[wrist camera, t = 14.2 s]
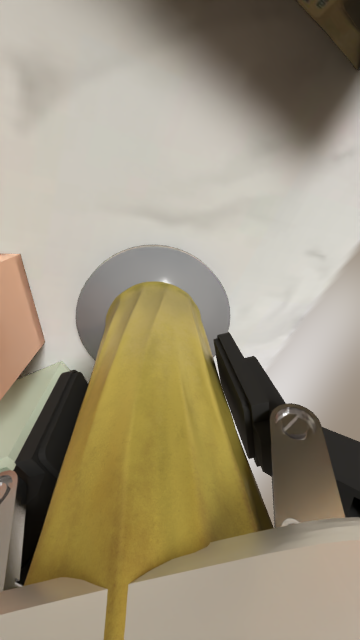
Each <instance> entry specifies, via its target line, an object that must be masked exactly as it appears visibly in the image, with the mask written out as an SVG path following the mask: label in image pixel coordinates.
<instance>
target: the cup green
mask: <svg viewBox="0 0 360 640" xmlns="http://www.w3.org/2000/svg"><path fill="white" fill-rule="evenodd" d="M68 371H70V370H69V369H68V368H67V367H66V365H65V364H64V363H63V362H62V361H61V362H58V363H56V364H53V365H51V366H49V367H46V368H44V369H42V370H39V371H37V372H34V373H32V374H30V375H27V376H25V377H22V378H20V379H18V380H16V381H15V382H14V383H13V385H12V386H11V387H10V388H9V390H8V391H7V392H6V394H5V395H4V396H3V398H2V399H1V400H0V473H1V472H3V471H8V470H12V471H13V470H14V468H15V466H16V464H15V463H14V462H15V460H16V459H17V457H18V455H19V453H20V451H21V449H22V447H23V445H24V443H25V441H26V439H27V438H28V436H29V434H30V432H31V430H32V428H33V426H34V424H35V422H36V420H37V418H38V417H39V415H40V413H41V411H42V409H43V407H44V405H45V403H46V401H47V399H48V397H49V396H50V394H51V392H52V390H53V388H54V386H55V384H56V382H57V380H58V378H59V377H60V375H61V373H64V372H68Z"/></svg>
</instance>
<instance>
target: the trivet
mask: <svg viewBox="0 0 360 640" xmlns="http://www.w3.org/2000/svg"><path fill="white" fill-rule="evenodd" d="M152 281H157V282H165V283H169V284H172V285H175V286H177V287H178V288H180V289H182V290H183V291H185V292H186V293H188V294H189V295H190V297H191V298H192V299H193V301H194V302H195V304H196V305H197V307H198V309H199V311H200V315H201V321H202V324H203V327H204V330H205V333H206V336H207V339H208V342H209V346H210V349H211V353H212V356H213V357H214V356H215V355H216V352H215V347H214V341H213V339H216V338H217V335H219V334H224V333H228V329H229V325H230V306H229V301H228V298H227V295H226V292H225V290H224V288H223V286H222V284H221V282H220V281H219V280H218V278H217V277H216V276H215V274H214V273H213V272H212V271H211V270H210V269H209V268H208V267H207V266H206V265H205V264H204V263H203V262H202V261H201V260H199V259H198V258H197V257H195V256H193V255H191V254H189V253H188V252H185V251H183V250H180V249H178V248H174V247H169V246H163V245H143V246H137V247H132V248H129V249H126V250H123V251H121V252H119V253H117V254H115V255H113V256H112V257H110V258H109V259H107V260H106V261H104V262H103V263H102V264H101V265H100V266H99V267H98V268H97V269H96V270H95V271H94V273H93V274H92V275H91V276H90V278H89V279H88V280H87V281H86V283H85V285H84V287H83V288H82V290H81V293H80V296H79V298H78V302H77V307H76V324H77V329H78V333H79V336H80V339H81V341H82V343H83V345H84V347H85V348H86V350H87V351H88V353H89V354H90V355H91V356H92V358H93V359H94V360H95V361H96V357H97V353H98V350H99V346H100V343H101V340H102V337H103V334H104V330H105V321H106V316H107V313H108V310H109V308H110V306H111V304H112V302H113V301H114V300H115V298H116V297H117V296H118V295H119V294H121V293H122V292H124V291H125V290H127V289H128V288H130V287H132V286H134V285H136V284H139V283H143V282H152Z"/></svg>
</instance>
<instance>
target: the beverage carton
mask: <svg viewBox="0 0 360 640" xmlns="http://www.w3.org/2000/svg"><path fill="white" fill-rule="evenodd" d="M297 2H298V3H299V4H300V5H301V6H302V7H303V8H304V10H305V11H306V12H307V13H308V14H309V15H310V16H311V17H312V18H313V19H314V20H315V21H316V22H317V23H318V24H319V25H320V26H321V28H322V29H323V30H324V31H325V32H326V33H327V34H328V35H329V37H330V38H331V39H332V40H333V42H334V43H335V44H336V45H337V46H338V47H339V49H340V50H341V51H342V52H343V53H344V54H345V56H346V57H347V58H348V59H349V61H350V62H351V63H352V65H353V66H354V67H355V69H356V70H360V0H297Z"/></svg>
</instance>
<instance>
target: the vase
mask: <svg viewBox="0 0 360 640" xmlns="http://www.w3.org/2000/svg"><path fill="white" fill-rule="evenodd" d="M268 529H273V525H272V522H271V520H270V517H269V515H268V512H267V509H266V507H265V505H264V502H263V499H262V497H261V494H260V491H259V489H258V486H257V484H256V481H255V478H254V476H253V473H252V471H251V468H250V466H249V463H248V460H247V458H246V455H245V453H244V450H243V448H242V445H241V442H240V440H239V437H238V434H237V431H236V429H235V425H234V422H233V418H232V415H231V412H230V409H229V407H228V404H227V401H226V398H225V395H224V392H223V389H222V386H221V383H220V379H219V376H218V373H217V370H216V366H215V363H214V360H213V356H212V353H211V349H210V346H209V342H208V339H207V336H206V333H205V330H204V327H203V324H202V321H201V315H200V311H199V309H198V307H197V305H196V304H195V302H194V301H193V299H192V298H191V297H190V295H189V294H188V293H186V292H185V291H183V290H182V289H180V288H178V287H177V286H175V285H172V284H169V283H165V282H157V281H152V282H143V283H139V284H136V285H134V286H132V287H130V288H128V289H127V290H125V291H124V292H122V293H121V294H119V295H118V296H117V297H116V298H115V300H114V301H113V302H112V304H111V306H110V308H109V310H108V313H107V316H106V321H105V330H104V334H103V337H102V340H101V343H100V346H99V350H98V353H97V357H96V361H95V365H94V368H93V371H92V374H91V378H90V381H89V384H88V387H87V390H86V393H85V396H84V399H83V402H82V405H81V408H80V411H79V414H78V417H77V420H76V423H75V427H74V430H73V433H72V436H71V440H70V443H69V446H68V449H67V452H66V454H65V457H64V460H63V463H62V466H61V470H60V473H59V476H58V479H57V482H56V485H55V488H54V492H53V495H52V498H51V501H50V505H49V508H48V511H47V515H46V518H45V521H44V524H43V528H42V531H41V534H40V537H39V540H38V543H37V546H36V549H35V553H34V556H33V559H32V562H31V565H30V568H29V571H28V574H27V577H26V580H25V583H24V586H26V585H30V584H35V583H39V582H43V581H47V580H51V579H55V578H60V577H68V578H75V579H81V580H84V581H87V582H89V583H92V584H94V585H96V586H99V587H103V588H106V589H108V593H107V606H106V618H105V629H104V640H124V632H125V621H126V608H127V594H128V584H130V583H131V582H133V581H135V580H136V579H138V578H139V577H141V576H142V575H144V574H145V573H147V572H148V571H150V570H152V569H154V568H156V567H158V566H160V565H162V564H164V563H166V562H168V561H170V560H172V559H174V558H178V557H181V556H185V555H188V554H192V553H195V552H197V551H199V550H201V549H203V548H206V547H208V545H209V544H210V542H214V541H218V540H223V539H227V538H232V537H236V536H240V535H245V534H249V533H254V532H259V531H264V530H268Z"/></svg>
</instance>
